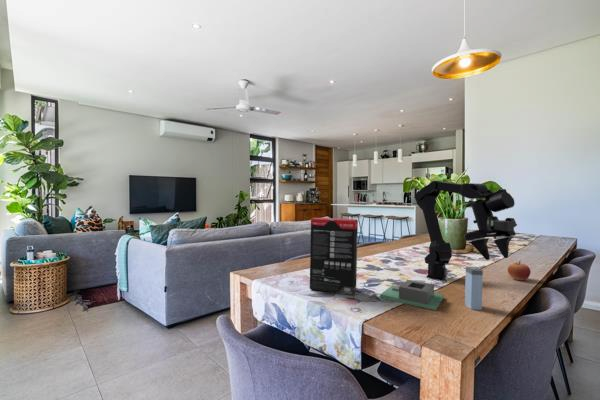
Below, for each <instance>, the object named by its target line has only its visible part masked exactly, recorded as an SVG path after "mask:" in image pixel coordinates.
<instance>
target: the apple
mask: <svg viewBox="0 0 600 400" xmlns="http://www.w3.org/2000/svg"><path fill="white" fill-rule="evenodd" d="M507 266H508V267H507V273H508V275H509V276H510V277H511V278H512V279H514V280H516V281H526V280H528V279H529V278H530V277H531V276H530V275H531V273H532V272H531V269H530V267H529V266H528V265H527V264H524V263H521V260H520V261H519V262H511V263H510V264H509V265H507Z"/></svg>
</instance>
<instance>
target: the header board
mask: <svg viewBox="0 0 600 400" xmlns="http://www.w3.org/2000/svg"><path fill="white" fill-rule="evenodd" d="M444 296H445V295H444V294H441V293H435V284H434V283H433V284H432V283H428V282H423V281H417V280H411V279H407V280H405V281H403V283H402V284H401V285H396V284H395V285H394V284H391V285H390V286H389V287H388V288H387V289H385V290H384V291H382V293H380V294H379V298H380V299H385V300H388V301H392V302H397V303H402V304H405V305H409V306H410V305H411V306H415V307H419V308H422V309H423V308H424V309H428V310H432V311H437V309H438V308H439V306H440V304H441V303H442V302H443V300H444Z"/></svg>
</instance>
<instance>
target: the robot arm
mask: <svg viewBox="0 0 600 400" xmlns="http://www.w3.org/2000/svg"><path fill="white" fill-rule="evenodd" d="M441 191H442V192H447V193H453V194H458V195H460V196H462V197H464V198H467V199H470V200H468V202H467V204H466V205H465V208H471V209H472V212H473V216H474V220H472V221H473V224H476V226H477V229H476V230H473V231H469V232H465V234H464V236H463V238H464V241H465V242H468V244H471V245H472V246H473V248H475V249H476V250H477V252H479V254H480V256H482V257H483V258H484V259H485V260H486V261H489V260H491V257H490V252H489V249H488V242H489V238H494V240H493V241H494V243H495V245H496V247H497V249H498V250H499V252H500V254H501V255H502V257H503V259H508V258H509V246H510V242H511V241H512V239H514V237H515V236H517V234H516V231H515V227H517V226H518V224H517V222H516V219H515V218H514V217H506V218H505V219H504V220H502V219H501V220H500V219H499V218H498V217H497V216H496V215H494V213H499V212H502V211H504V210H508V209H511V208H514V207H515V203H516V202H515V198H514V197H513V196H512V195H511V194H510V193H509V192H507V189H506V188H501V189H498V190H497V191H494V192H493V191H492V190H490V189H488V187H487V184H485V183H471V182H470V183H456V182H450V181H442V180H431V181H430V182H429V183H428V184H427V185H425V186H423V187H422V188H420V189H419V190H418V191H416V192H415V195H414V199H415V202H416V204H417V207H419V208H420V209H421V211H422V214H423V217H424V222H425V225H426V229H427V232H428V236H429V239H430V244H429V246H428V251H429V253H428V254H427V255H426V256H425V257H424V258H423V259H424V262H425V264H427V275H426V278H427V279H428V278H429V279H434V280H437V281H443V280H445V279H446V278H448V277H447V275H448V273H447V272H448V270H447V267H446V266H447V265H449V264H450V260H451V259H452V257H453V254H452V253H453V252H454V251H453V250H452V248H451V244H450V242H446V241H445V240H444V238H443V234H442V230H441V228H440V223H439V221H438V216H437V212H436V209H435V207H436V203H437V198H438V197H439V196H440V193H441ZM471 199H472V200H471ZM473 199H474V200H473ZM475 199H476V200H475ZM446 264H447V265H446Z"/></svg>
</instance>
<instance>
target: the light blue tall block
mask: <svg viewBox="0 0 600 400" xmlns="http://www.w3.org/2000/svg"><path fill="white" fill-rule="evenodd" d="M483 272H484V271H483V270H482V269H480V268H478V267H476V266H465V280H464V281H465V284H464V285H465V286H464V289H465V290H464V291H465V292H464V305H465V306H466V307H467V308H469V310H475V311H482V310H483V308H482V307H483V274H484V273H483Z"/></svg>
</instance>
